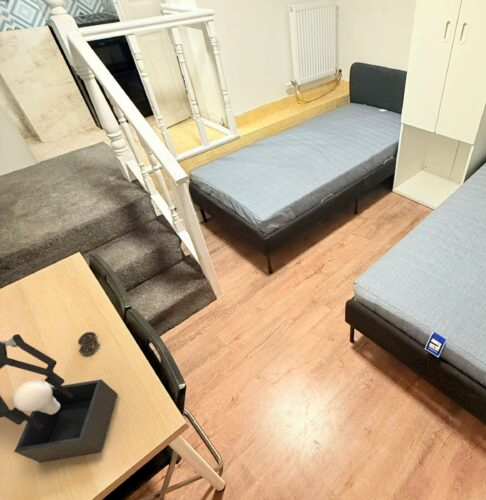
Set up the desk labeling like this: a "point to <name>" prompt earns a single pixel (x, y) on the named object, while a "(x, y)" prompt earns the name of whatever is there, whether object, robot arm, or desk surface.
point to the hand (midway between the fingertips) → (57, 411)
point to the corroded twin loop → (87, 343)
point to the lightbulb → (35, 397)
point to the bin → (70, 424)
